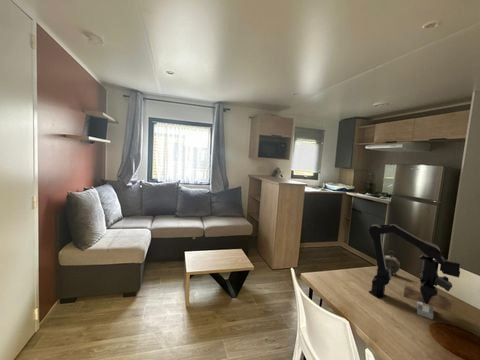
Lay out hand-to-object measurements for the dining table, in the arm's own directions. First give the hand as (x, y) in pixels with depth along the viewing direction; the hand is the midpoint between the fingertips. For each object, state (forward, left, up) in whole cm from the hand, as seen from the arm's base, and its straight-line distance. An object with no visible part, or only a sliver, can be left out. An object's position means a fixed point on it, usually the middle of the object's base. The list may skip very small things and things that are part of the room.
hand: (426, 299), depth 112 cm
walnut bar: (0, 0, -1) cm, 1 cm away
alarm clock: (+22, +34, -7) cm, 41 cm away
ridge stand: (0, 0, -6) cm, 6 cm away
